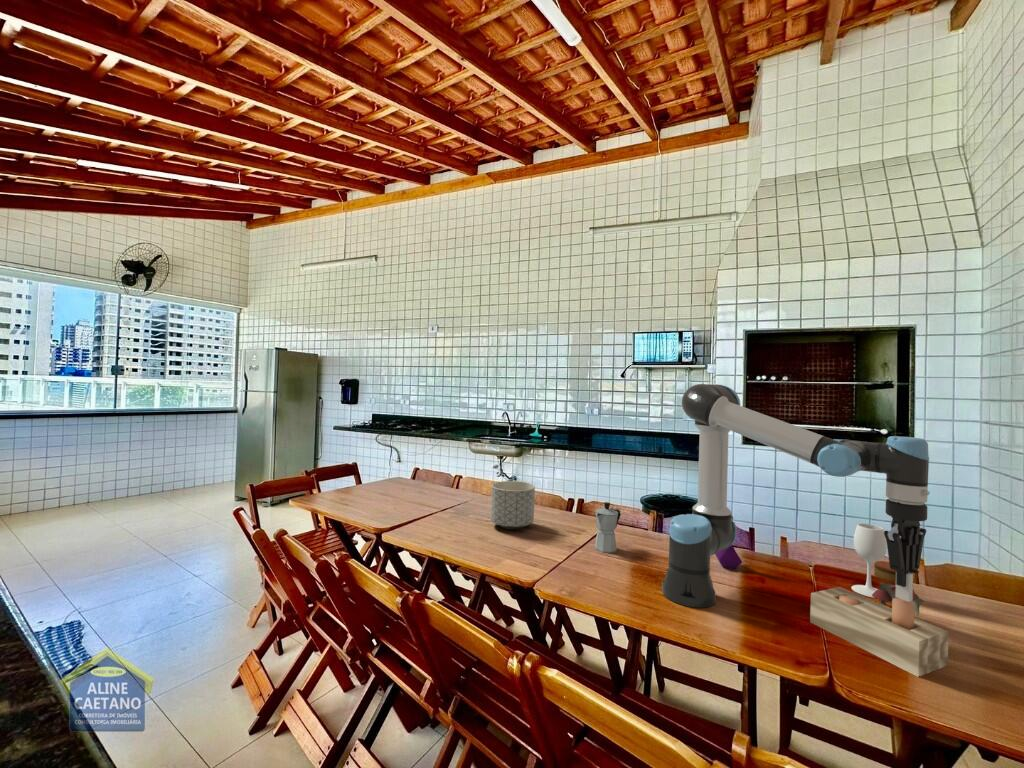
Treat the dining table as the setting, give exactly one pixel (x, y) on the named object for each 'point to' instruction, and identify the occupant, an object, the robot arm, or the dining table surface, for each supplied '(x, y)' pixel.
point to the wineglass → (869, 552)
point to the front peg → (903, 613)
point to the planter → (512, 504)
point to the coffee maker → (606, 528)
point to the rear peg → (848, 600)
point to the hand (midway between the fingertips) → (903, 598)
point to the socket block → (880, 631)
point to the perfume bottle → (729, 557)
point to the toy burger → (890, 586)
